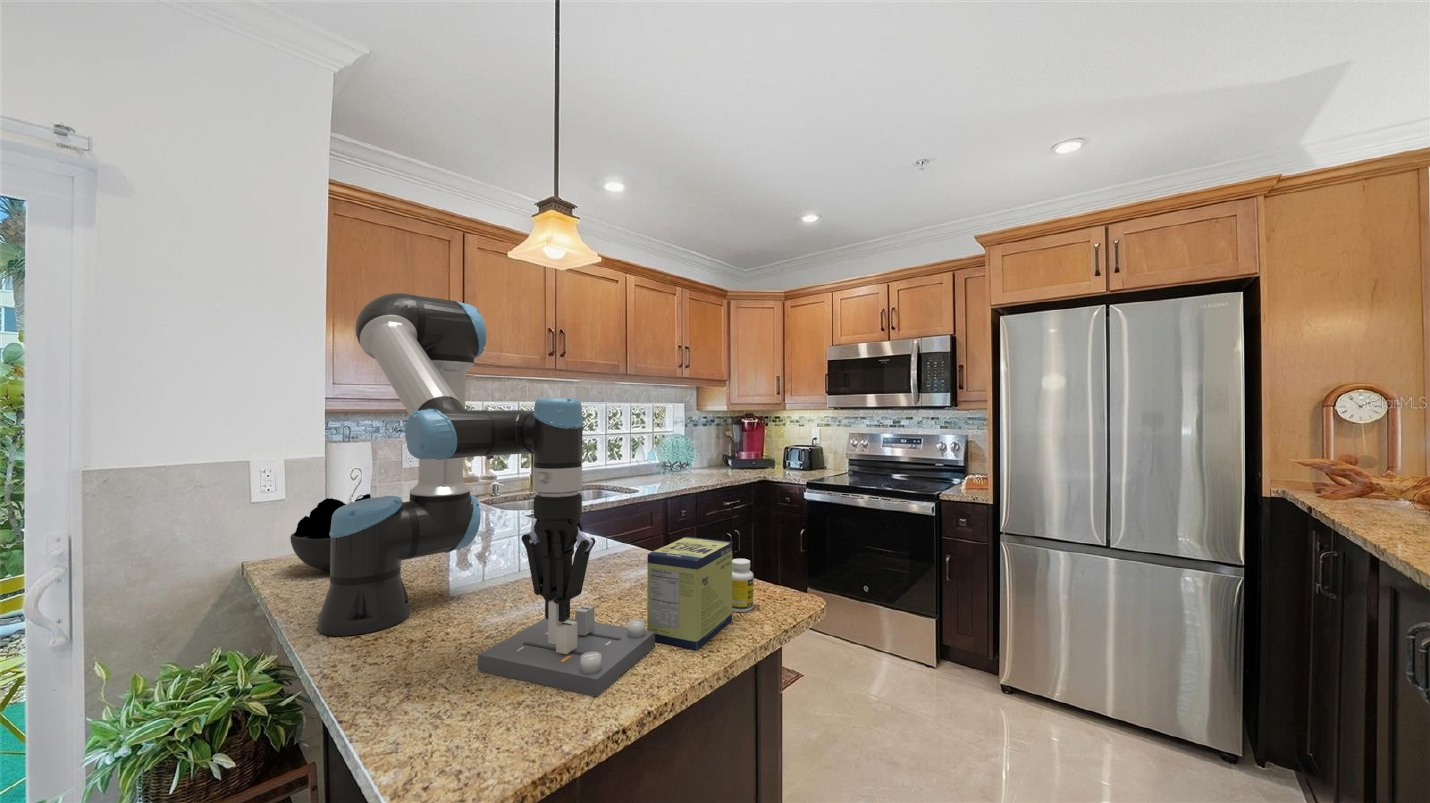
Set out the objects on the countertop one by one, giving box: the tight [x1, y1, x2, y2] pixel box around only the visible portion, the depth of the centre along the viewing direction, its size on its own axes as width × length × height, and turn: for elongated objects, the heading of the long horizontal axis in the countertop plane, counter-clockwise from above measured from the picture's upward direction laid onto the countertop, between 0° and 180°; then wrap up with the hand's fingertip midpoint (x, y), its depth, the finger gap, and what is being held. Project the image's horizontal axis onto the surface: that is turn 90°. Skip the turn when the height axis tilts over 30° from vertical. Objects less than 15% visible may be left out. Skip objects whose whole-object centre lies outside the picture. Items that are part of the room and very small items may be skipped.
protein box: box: [646, 536, 733, 651], centre depth 102 cm, size 10×16×16 cm
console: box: [477, 617, 656, 698], centre depth 90 cm, size 22×18×5 cm
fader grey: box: [574, 604, 595, 636], centre depth 94 cm, size 2×3×4 cm
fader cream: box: [556, 620, 577, 654], centre depth 87 cm, size 2×3×4 cm
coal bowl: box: [289, 493, 372, 572], centre depth 141 cm, size 20×20×19 cm
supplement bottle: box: [732, 558, 754, 613], centre depth 113 cm, size 5×5×10 cm
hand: (557, 639), depth 88 cm, fingers closed
